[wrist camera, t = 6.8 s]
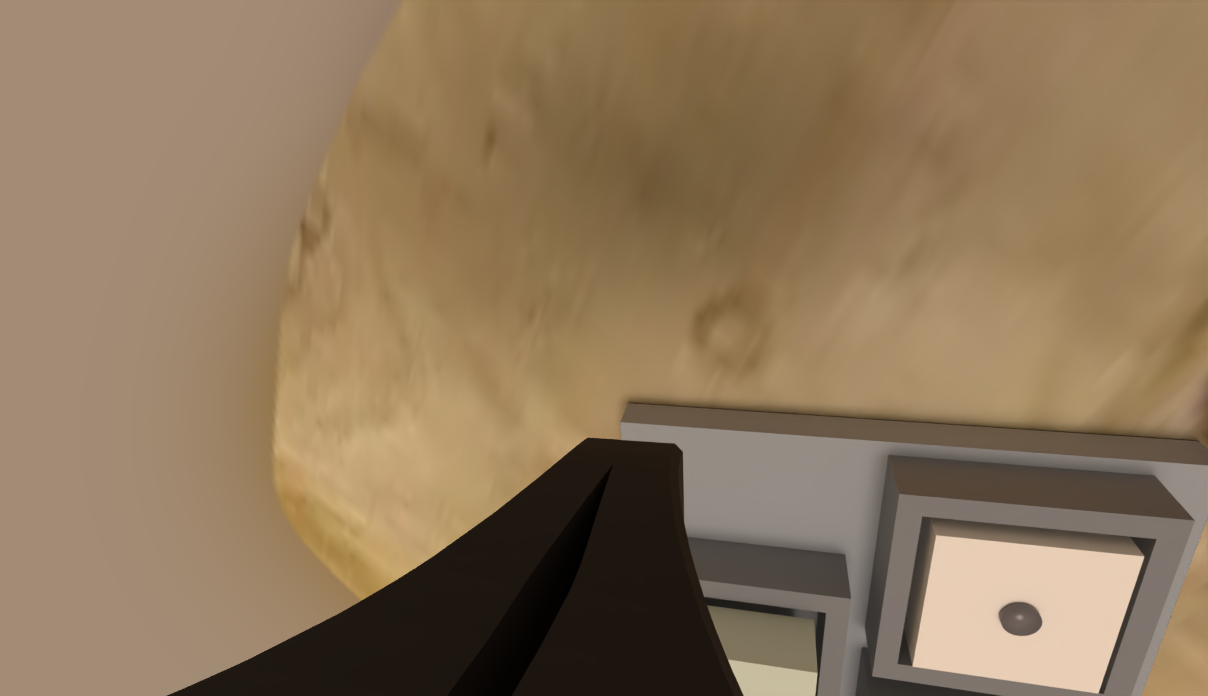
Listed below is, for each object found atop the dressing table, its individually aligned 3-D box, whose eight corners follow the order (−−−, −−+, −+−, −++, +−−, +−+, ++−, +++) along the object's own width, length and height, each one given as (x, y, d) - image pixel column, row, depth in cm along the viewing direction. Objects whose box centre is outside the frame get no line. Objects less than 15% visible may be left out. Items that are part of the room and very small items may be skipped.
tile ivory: (1109, 508, 17) (1149, 562, 15) (1070, 638, 19) (1101, 700, 17) (922, 492, 18) (938, 540, 16) (901, 616, 20) (913, 673, 18)
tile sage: (814, 619, 19) (818, 679, 17) (803, 729, 20) (806, 794, 19) (657, 598, 20) (645, 653, 18) (660, 704, 21) (649, 764, 20)
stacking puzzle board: (1199, 441, 17) (1276, 512, 15) (1075, 796, 23) (1114, 895, 20) (628, 403, 21) (606, 455, 18) (640, 719, 26) (625, 795, 24)
